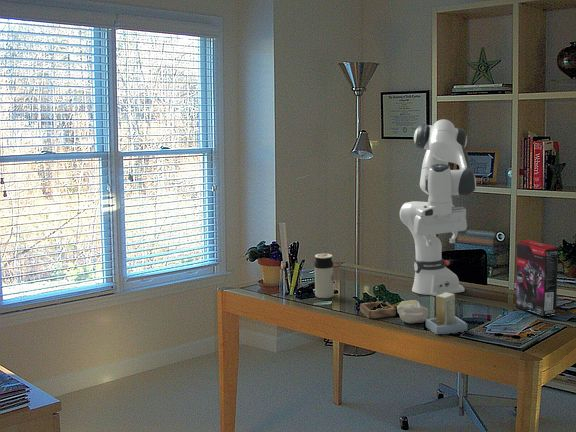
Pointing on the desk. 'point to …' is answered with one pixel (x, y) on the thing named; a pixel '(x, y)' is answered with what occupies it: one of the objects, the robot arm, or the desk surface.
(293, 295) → the desk surface
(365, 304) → the tray
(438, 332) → the slate tray
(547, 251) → the graphics card box
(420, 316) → the fossil replica
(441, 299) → the skincare box
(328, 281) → the travel mug
